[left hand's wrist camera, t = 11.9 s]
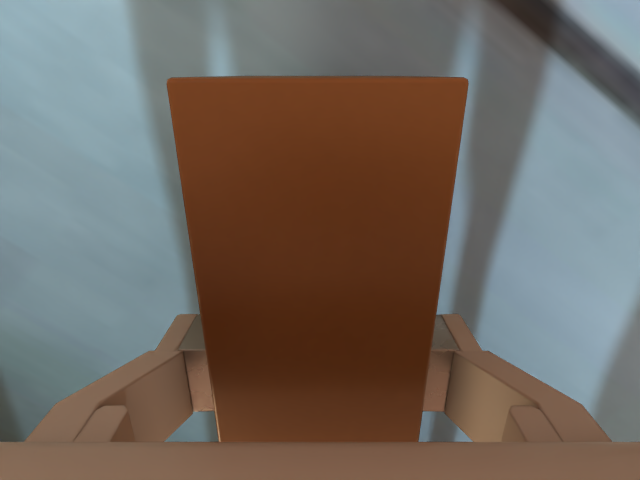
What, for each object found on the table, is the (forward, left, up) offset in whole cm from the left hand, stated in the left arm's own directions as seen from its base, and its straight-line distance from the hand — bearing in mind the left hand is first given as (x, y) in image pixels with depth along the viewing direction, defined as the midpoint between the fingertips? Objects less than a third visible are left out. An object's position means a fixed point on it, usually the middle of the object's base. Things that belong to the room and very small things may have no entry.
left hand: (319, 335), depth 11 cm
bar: (+24, +18, -4) cm, 30 cm away
